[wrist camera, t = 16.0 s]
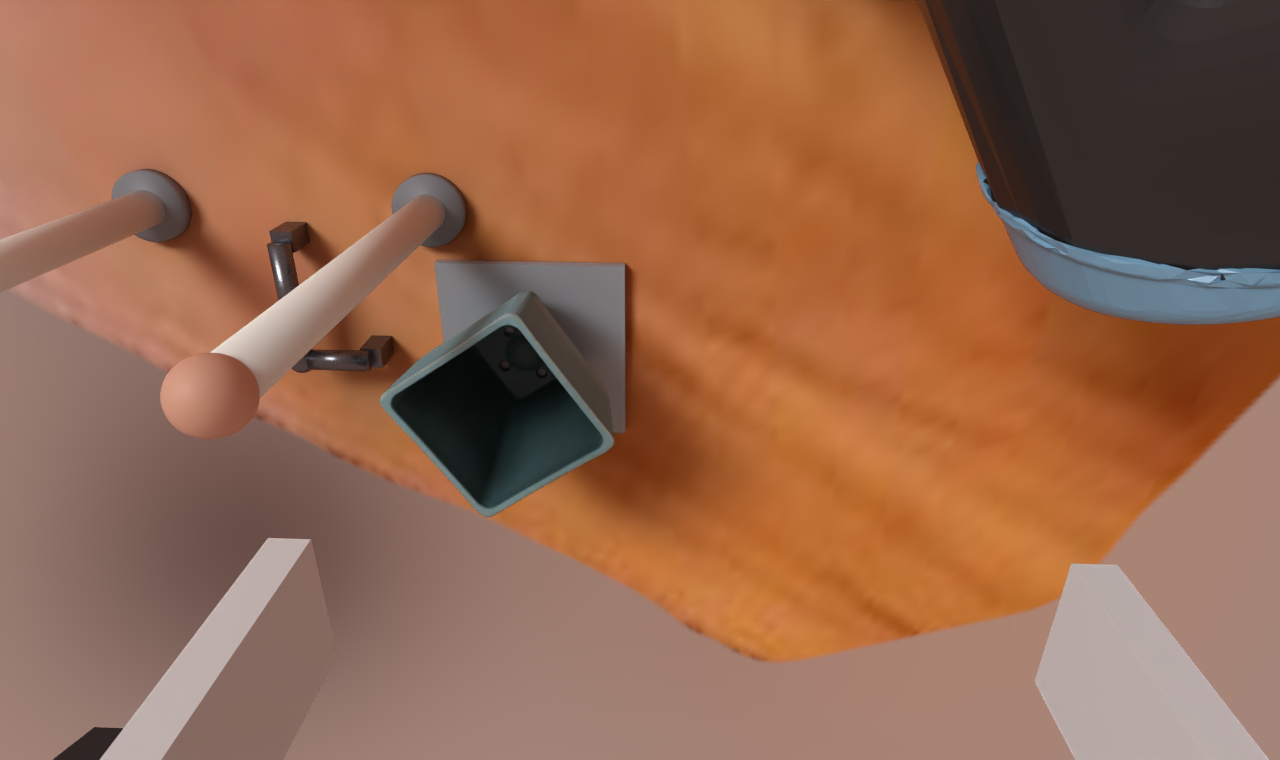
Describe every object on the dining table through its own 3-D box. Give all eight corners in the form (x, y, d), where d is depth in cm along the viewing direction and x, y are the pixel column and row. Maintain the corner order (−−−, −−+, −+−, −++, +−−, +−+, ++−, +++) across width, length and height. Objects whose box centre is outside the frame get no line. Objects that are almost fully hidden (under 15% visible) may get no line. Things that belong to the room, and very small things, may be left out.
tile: (437, 259, 45) (434, 262, 45) (625, 263, 45) (624, 266, 44) (456, 424, 50) (453, 428, 50) (625, 428, 50) (625, 433, 49)
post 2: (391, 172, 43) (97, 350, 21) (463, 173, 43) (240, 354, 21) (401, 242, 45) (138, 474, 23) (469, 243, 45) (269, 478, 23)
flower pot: (629, 370, 47) (619, 446, 39) (515, 437, 50) (484, 522, 42) (542, 253, 44) (512, 309, 36) (426, 330, 47) (373, 400, 39)
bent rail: (282, 221, 45) (255, 237, 42) (374, 223, 45) (353, 238, 42) (308, 354, 49) (285, 377, 46) (394, 356, 48) (376, 379, 45)
